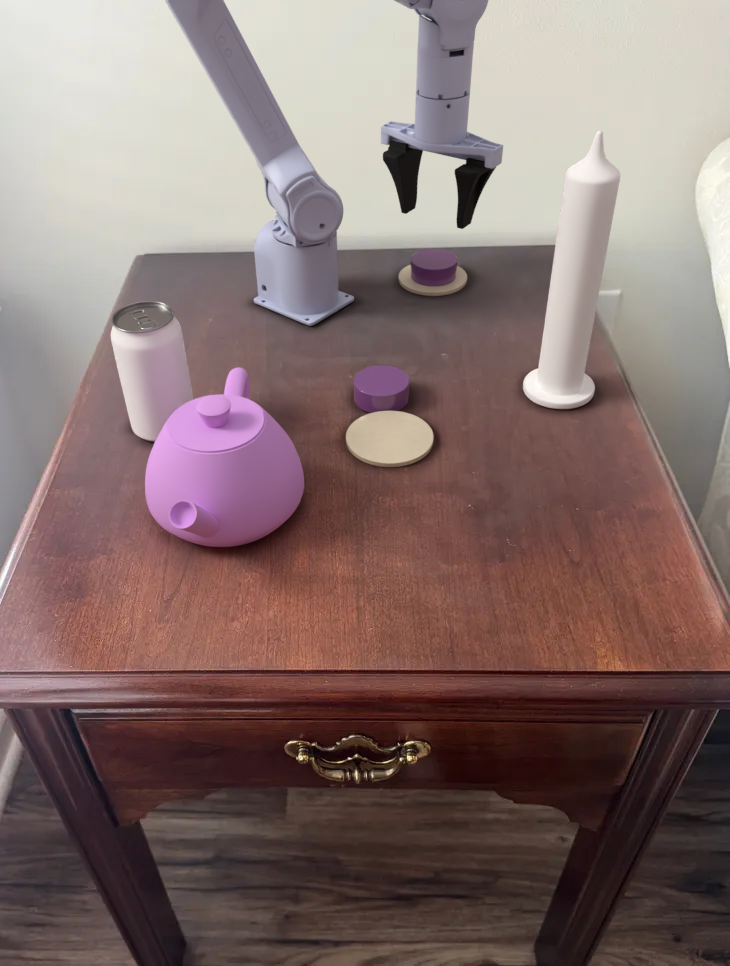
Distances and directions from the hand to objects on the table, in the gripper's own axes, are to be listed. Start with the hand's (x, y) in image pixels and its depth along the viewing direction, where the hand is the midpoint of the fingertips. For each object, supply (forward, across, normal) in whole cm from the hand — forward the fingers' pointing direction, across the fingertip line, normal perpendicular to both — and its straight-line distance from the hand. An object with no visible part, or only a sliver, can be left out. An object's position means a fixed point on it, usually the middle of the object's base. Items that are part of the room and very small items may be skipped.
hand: (435, 217), depth 100 cm
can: (+8, +6, +41) cm, 42 cm away
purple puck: (+8, -9, +24) cm, 27 cm away
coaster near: (+8, -14, +30) cm, 34 cm away
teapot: (+8, -8, +46) cm, 48 cm away
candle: (+8, -23, +13) cm, 28 cm away
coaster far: (+8, 0, 0) cm, 8 cm away
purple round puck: (+7, 0, 0) cm, 7 cm away
